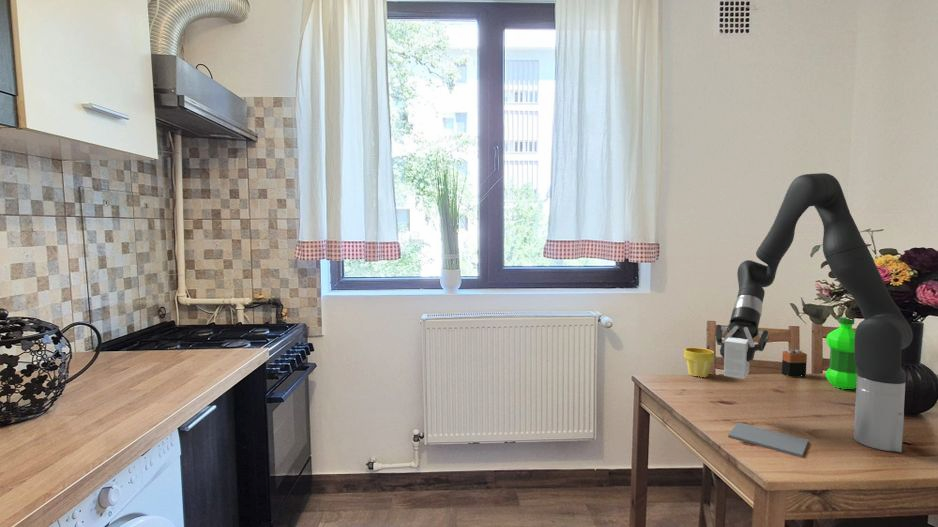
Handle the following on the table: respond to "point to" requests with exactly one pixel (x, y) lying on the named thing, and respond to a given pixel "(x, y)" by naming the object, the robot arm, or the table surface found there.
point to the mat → (769, 439)
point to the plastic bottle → (842, 356)
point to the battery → (794, 363)
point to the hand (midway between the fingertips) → (735, 357)
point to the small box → (736, 357)
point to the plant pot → (698, 361)
